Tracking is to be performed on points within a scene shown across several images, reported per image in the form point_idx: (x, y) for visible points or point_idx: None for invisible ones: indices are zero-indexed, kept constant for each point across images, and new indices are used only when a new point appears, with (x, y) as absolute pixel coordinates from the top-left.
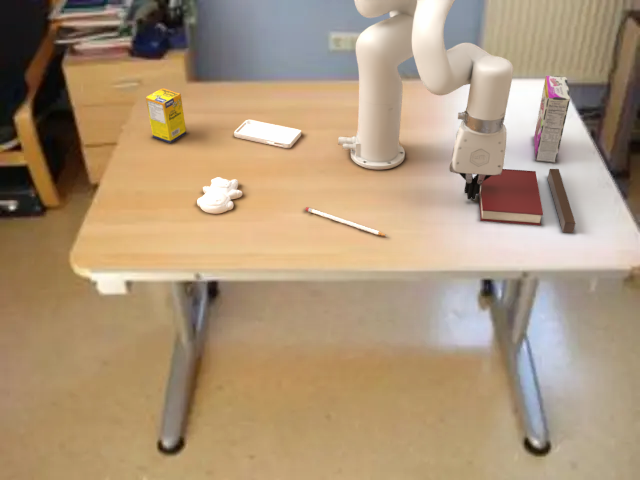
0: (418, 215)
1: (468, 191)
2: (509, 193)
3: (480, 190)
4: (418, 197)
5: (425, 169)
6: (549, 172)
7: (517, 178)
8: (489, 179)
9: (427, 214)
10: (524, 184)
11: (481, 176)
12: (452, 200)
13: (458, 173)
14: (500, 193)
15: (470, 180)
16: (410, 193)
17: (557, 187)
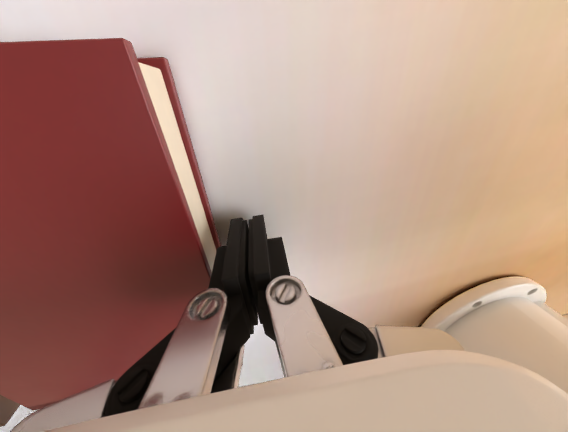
0: (483, 51)
1: (267, 245)
2: (36, 279)
3: None
4: (435, 192)
5: (379, 311)
6: (6, 409)
7: (75, 367)
8: None
9: (439, 70)
10: (12, 351)
11: (192, 356)
12: (318, 205)
13: (370, 329)
14: (88, 265)
15: (274, 298)
16: (453, 207)
17: None
